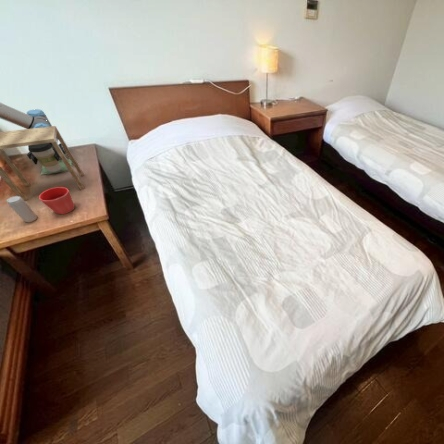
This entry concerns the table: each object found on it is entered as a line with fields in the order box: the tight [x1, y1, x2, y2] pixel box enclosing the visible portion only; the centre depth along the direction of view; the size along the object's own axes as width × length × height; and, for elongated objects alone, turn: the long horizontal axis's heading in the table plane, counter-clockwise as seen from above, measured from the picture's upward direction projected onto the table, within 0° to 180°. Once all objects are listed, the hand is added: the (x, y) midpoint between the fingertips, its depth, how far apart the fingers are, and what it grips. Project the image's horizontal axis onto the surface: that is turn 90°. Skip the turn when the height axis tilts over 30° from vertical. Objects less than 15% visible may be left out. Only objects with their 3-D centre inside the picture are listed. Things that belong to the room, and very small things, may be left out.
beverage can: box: [6, 195, 38, 223], centre depth 111 cm, size 5×5×12 cm
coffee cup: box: [27, 143, 61, 172], centre depth 137 cm, size 10×10×15 cm
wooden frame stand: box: [0, 125, 85, 202], centre depth 124 cm, size 26×16×29 cm, turn 122°
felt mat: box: [40, 158, 73, 176], centre depth 147 cm, size 14×14×1 cm
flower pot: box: [38, 186, 75, 215], centre depth 119 cm, size 11×11×10 cm
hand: (45, 160), depth 134 cm, fingers closed on coffee cup, 9 cm apart
